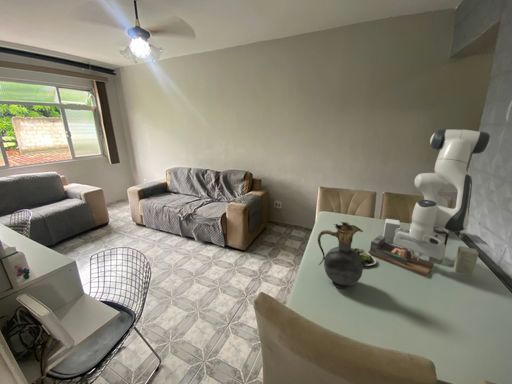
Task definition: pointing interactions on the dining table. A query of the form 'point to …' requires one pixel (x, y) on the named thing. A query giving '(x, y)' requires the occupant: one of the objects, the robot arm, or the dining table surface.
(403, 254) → the block
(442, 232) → the coffee box
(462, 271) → the skincare box
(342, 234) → the pitcher
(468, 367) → the dining table surface
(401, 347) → the dining table surface
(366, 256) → the salad plate
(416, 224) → the robot arm
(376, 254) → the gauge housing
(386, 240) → the supplement box
